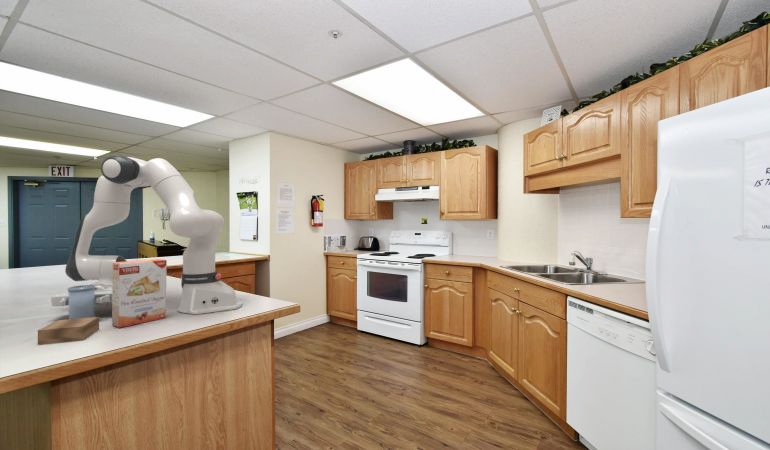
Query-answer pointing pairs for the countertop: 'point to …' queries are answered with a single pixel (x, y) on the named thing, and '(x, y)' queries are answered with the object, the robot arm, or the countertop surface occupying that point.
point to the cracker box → (138, 291)
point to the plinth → (68, 330)
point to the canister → (81, 302)
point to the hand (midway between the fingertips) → (80, 302)
